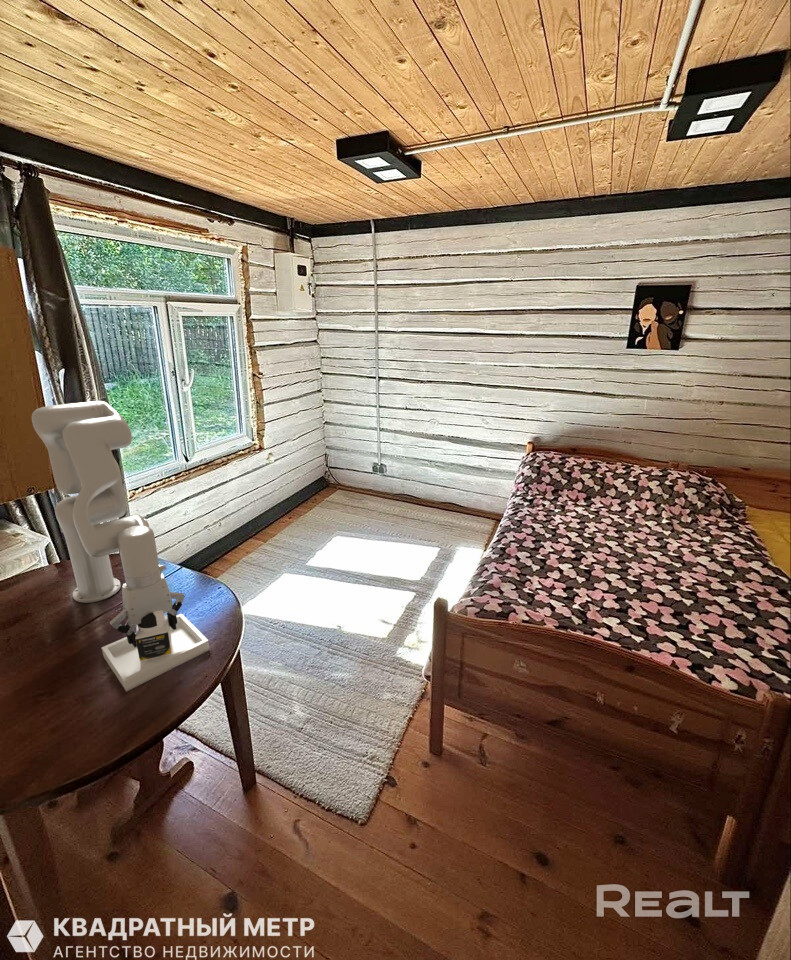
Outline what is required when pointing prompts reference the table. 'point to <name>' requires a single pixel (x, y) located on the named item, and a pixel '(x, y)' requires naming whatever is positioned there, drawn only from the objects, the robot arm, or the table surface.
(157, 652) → the medicine bottle
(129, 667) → the tray
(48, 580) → the table surface
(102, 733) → the table surface
